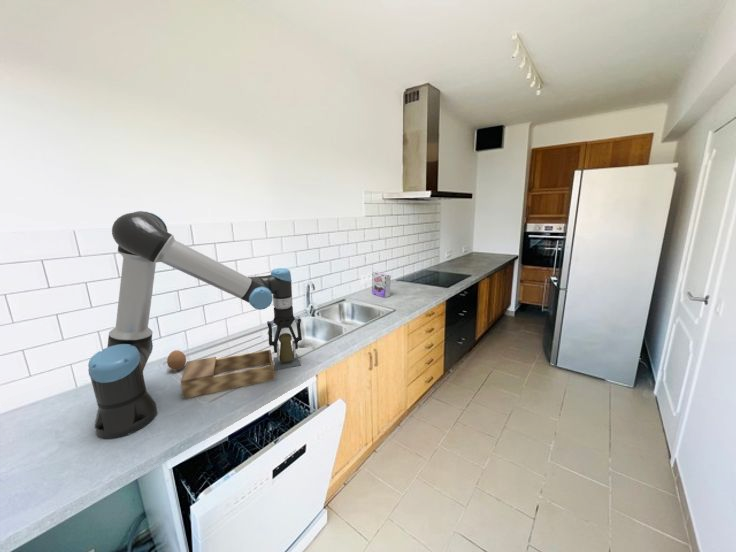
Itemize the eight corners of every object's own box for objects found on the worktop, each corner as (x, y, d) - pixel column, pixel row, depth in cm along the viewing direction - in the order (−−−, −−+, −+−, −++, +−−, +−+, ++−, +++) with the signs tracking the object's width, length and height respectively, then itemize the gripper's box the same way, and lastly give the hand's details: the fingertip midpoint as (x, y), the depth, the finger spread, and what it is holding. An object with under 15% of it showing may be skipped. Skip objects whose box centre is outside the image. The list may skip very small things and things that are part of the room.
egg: (189, 363, 126) (186, 346, 124) (185, 372, 120) (182, 353, 118) (171, 366, 124) (168, 348, 122) (166, 374, 118) (163, 355, 116)
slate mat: (276, 370, 121) (276, 369, 121) (273, 358, 130) (273, 357, 130) (300, 365, 125) (300, 364, 125) (296, 354, 134) (296, 353, 134)
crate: (183, 398, 104) (180, 380, 102) (189, 377, 116) (186, 361, 114) (274, 379, 115) (273, 363, 114) (271, 362, 127) (270, 347, 126)
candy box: (371, 293, 222) (371, 272, 218) (377, 292, 226) (377, 271, 222) (384, 298, 212) (385, 275, 208) (390, 296, 216) (391, 274, 212)
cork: (290, 362, 124) (288, 338, 121) (276, 360, 125) (274, 336, 122) (296, 355, 130) (294, 332, 127) (283, 353, 131) (281, 330, 128)
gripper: (259, 312, 115) (263, 366, 120) (308, 306, 122) (310, 357, 127) (258, 306, 121) (262, 357, 127) (304, 300, 128) (306, 349, 134)
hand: (286, 357), depth 127 cm, fingers closed on cork, 6 cm apart
